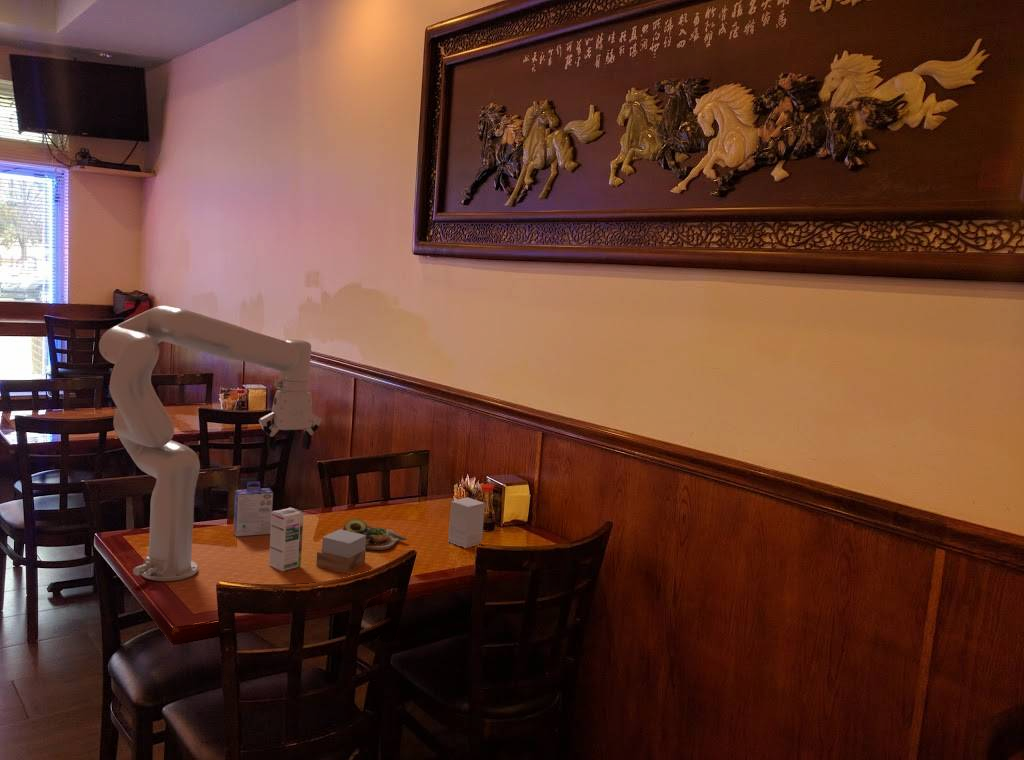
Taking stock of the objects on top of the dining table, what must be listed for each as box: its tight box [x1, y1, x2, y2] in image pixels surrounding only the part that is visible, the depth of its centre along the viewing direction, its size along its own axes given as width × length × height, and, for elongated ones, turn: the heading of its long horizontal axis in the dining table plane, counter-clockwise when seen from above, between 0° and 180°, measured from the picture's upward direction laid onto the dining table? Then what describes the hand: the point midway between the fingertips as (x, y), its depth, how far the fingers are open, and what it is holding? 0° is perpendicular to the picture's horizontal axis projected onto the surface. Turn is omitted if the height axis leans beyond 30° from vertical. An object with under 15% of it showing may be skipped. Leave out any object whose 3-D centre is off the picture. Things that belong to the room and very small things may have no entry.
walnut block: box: [315, 549, 367, 574], centre depth 206 cm, size 9×9×4 cm
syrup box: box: [268, 507, 304, 572], centre depth 200 cm, size 6×6×14 cm
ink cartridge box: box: [232, 480, 274, 537], centre depth 222 cm, size 10×6×14 cm, turn 120°
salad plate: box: [342, 518, 407, 551], centre depth 226 cm, size 19×18×5 cm
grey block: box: [321, 528, 366, 559], centre depth 206 cm, size 8×8×4 cm
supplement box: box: [447, 497, 486, 549], centre depth 231 cm, size 7×7×13 cm
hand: (288, 449), depth 212 cm, fingers open, 9 cm apart
